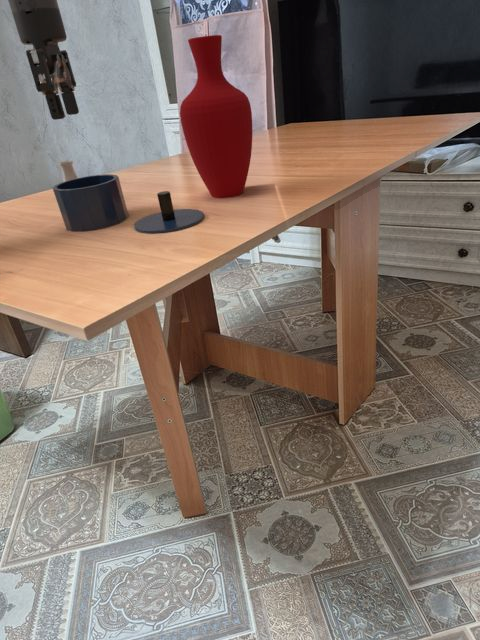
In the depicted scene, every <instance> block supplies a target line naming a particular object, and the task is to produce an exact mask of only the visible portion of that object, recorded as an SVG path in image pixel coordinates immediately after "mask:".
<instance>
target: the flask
mask: <svg viewBox="0 0 480 640" xmlns="http://www.w3.org/2000/svg"><path fill="white" fill-rule="evenodd" d="M73 163H74V161H73V160H63V161H60V162H58V163H57V164H58V166H59V168H60V169H61V172H62V179H63V182H65V181H68V180H72V179H76V178H79V177H78V175H77V173H76V171H75V168H74V165H73Z"/></svg>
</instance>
